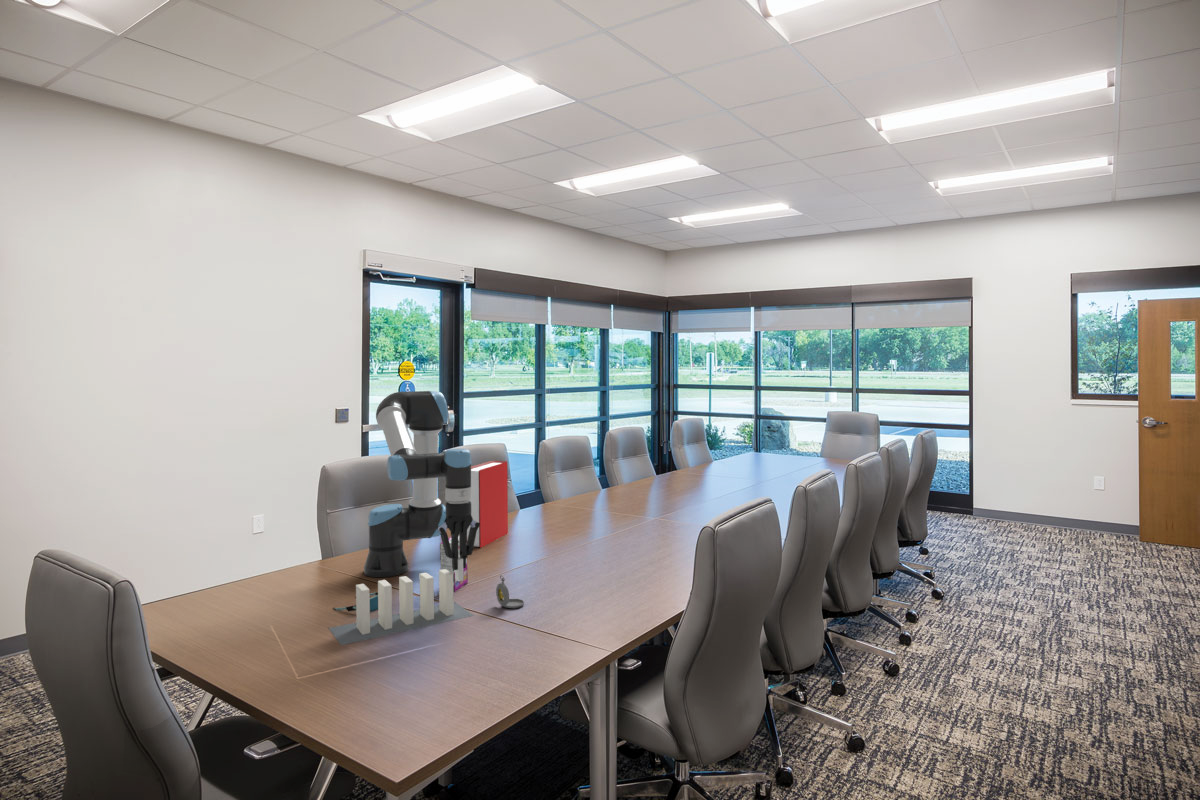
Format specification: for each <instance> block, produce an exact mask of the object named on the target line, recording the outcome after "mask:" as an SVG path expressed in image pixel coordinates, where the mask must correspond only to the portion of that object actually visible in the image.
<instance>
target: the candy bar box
mask: <svg viewBox="0 0 1200 800" xmlns="http://www.w3.org/2000/svg"><path fill="white" fill-rule="evenodd" d="M448 539H449V543H450V547H451V536H450V537H448ZM466 545H467V535H466ZM439 549H440V551H439V552H440V554H439V555H440V570H443V569H446V570H448V571H449V572H451V573H452V574H453V593H456V592H457V591H458V590H459V589H461V588H462V587H464V586H466V585H467V584H468V578H469V576H468V557H467V558H466V568H464V569H463V581H457V580H456V579H455V570H454V569H453V568H452V558H448V557H447V556H446V554H445V551H444V547H443V543H442V542H440V543H439ZM458 557H460V548H459V536H458Z"/></svg>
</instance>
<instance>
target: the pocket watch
mask: <svg viewBox="0 0 1200 800" xmlns="http://www.w3.org/2000/svg"><path fill="white" fill-rule="evenodd" d="M499 578H500V581H501V582H500V583H498V584H497V586H496V589H495V593H496V598H497V599H496V600H497V601H498V603H499V605H501V606H503V608H506V609H517V608H521V607H523V606H524V604H525V601H524V599H520V598H510V593H509V588H508V587H507V585H506V584H505V580H506V579H505V577H504V576H503V575H499Z"/></svg>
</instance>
